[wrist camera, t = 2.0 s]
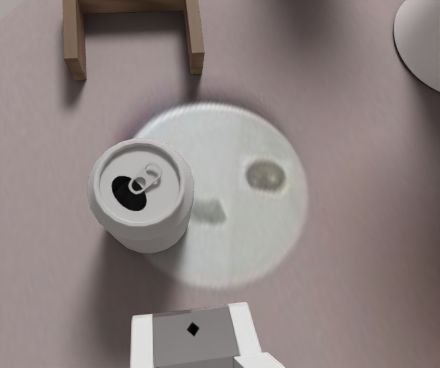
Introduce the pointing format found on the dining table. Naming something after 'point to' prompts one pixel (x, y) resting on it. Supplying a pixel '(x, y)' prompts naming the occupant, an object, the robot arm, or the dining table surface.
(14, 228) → the dining table surface
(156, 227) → the can
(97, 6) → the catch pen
